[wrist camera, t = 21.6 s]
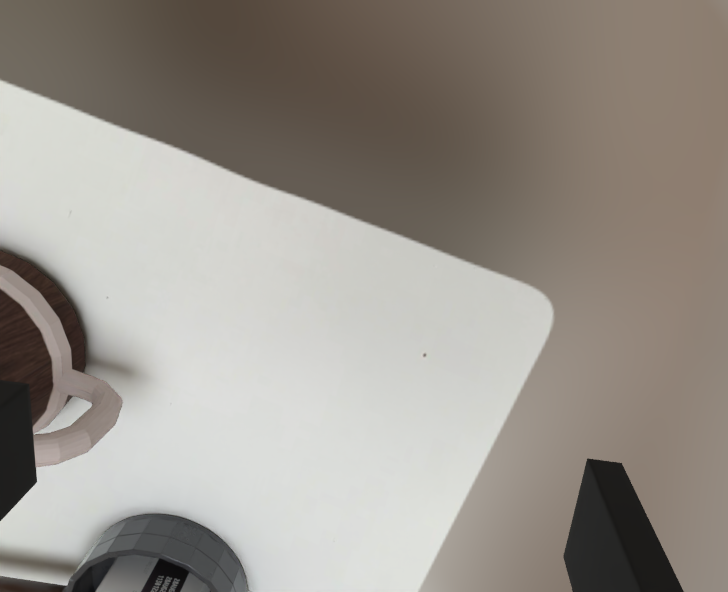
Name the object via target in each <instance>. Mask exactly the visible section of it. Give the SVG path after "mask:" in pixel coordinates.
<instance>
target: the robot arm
mask: <svg viewBox="0 0 728 592" xmlns="http://www.w3.org/2000/svg"><path fill="white" fill-rule="evenodd" d="M36 482H37V477H36V464H35V451H34V438H33V425H32V412H31V399H30V386H29V384H27V383H19V382H12V381H4V380H0V521H1V520H2V519H3V518H4V517H5V516H6V514H7V513H8V512H9V511H10V510H11V509H12V508H13V507H14V506H15V505H16V504H17V503H18V502H19V501H20V500H21V498H22V497H23V496H24V495H25V494H26V493H27V492H28V491H29V490H30V489H31V488H32V487H33V486H34V485H35V483H36ZM564 560H565V564H566V568H567V572H568V575H569V579H570V583H571V586H572V590H573V592H683V590H682V587H681V585H680V583H679V581H678V579H677V577H676V575H675V573H674V571H673V569H672V567H671V565H670V563H669V560H668V558H667V556H666V555H665V552H664V550H663V548H662V546H661V544H660V542H659V540H658V538H657V536H656V534H655V531H654V529H653V527H652V525H651V523H650V521H649V519H648V517H647V515H646V513H645V511H644V509H643V507H642V505H641V502H640V501H639V499H638V496H637V494H636V492H635V490H634V488H633V486H632V484H631V482H630V480H629V478H628V476H627V474H626V471H625V469H624V467H623V465H622V463H616V462H609V461H601V460H593V459H587V462H586V466H585V470H584V475H583V479H582V483H581V487H580V491H579V495H578V499H577V503H576V507H575V511H574V516H573V520H572V524H571V528H570V532H569V536H568V540H567V544H566V548H565V553H564Z"/></svg>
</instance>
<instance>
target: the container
mask: <svg viewBox="0 0 728 592" xmlns="http://www.w3.org/2000/svg"><path fill="white" fill-rule="evenodd" d="M95 592H210V589H209V588H208V587H207V585H206V584H205V583H203V582H202V581H201V580H199V579H198V578H197V577H195V576H194V575H193V574H191V573H190V572H189V571H187V570H186V569H184V568H182V567H179V566H177V565H175V564H172V563H170V562H167V561H165V560H163V559H160V558H153V557H146V556H139V555H127V556H119V557H117V558H116V560H115V561H114V563H113V564H112V566H111V568H110V569H109V571H108V572H107V574H106V575H105V577H104V579H103V580H102V582H101V583H100V585H99V587H98V588H97V590H96V591H95Z"/></svg>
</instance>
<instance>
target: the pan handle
mask: <svg viewBox="0 0 728 592" xmlns="http://www.w3.org/2000/svg"><path fill="white" fill-rule="evenodd" d="M66 588H67V586H63V585H57V584H50V583H43V582H37V581H30V580H23V579H17V578H10V577H3V576H0V592H65V591H66Z"/></svg>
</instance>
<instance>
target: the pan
mask: <svg viewBox="0 0 728 592" xmlns="http://www.w3.org/2000/svg"><path fill="white" fill-rule="evenodd" d="M127 555H139V556H146V557H153V558H160V559H163V560H165V561H167V562H170V563H172V564H175V565H177V566H179V567H182V568H184V569H186V570H187V571H189V572H190V573H191V574H193V575H194V576H195V577H197V578H198V579H199V580H201V581H202V582H203V583H205V584H206V585H207V587H208V588H209V589H210V592H247V582H246V577H245V574H244V571H243V568H242V566H241V564H240V562H239V560H238V558H237V557H236V556H235V554H234V553H233V551H232V550H231V549H230V548H229V547H228V546H227V544H226V543H225V542H224V541H222V540H221V539H220V538H219V537H218V536H217V535H215V534H214V533H212V532H211V531H210V530H208V529H206V528H204V527H203V526H201V525H199V524H197V523H194V522H192V521H190V520H187V519H183V518H180V517H176V516H171V515H163V514H145V515H139V516H134V517H131V518H127V519H125V520H123V521H120V522H118V523H116V524H115V525H113V526H112V527H110V528H109V529H108V530H107V531H105V532H104V533H103V534H102V536H101V537H100V538H99V539H98V541H97V542H96V543H95V544H94V545H93V546H92V548H91V549H90V551H89V552H88V553H87V555H86V556H85V558H84V559H83V561H82V562H81V563H80V565H79V566H78V568H77V569H76V571H75V572H74V574H73V575H72V576H71V578H70V580H69V583H68V585H67V588H66V591H65V592H95V591H96V590H97V588H98V587H99V585H100V583H101V582H102V580H103V579H104V577H105V575H106V574H107V572H108V571H109V569H110V568H111V566H112V564H113V563H114V561H115V560H116V558H117V557H119V556H127Z"/></svg>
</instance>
